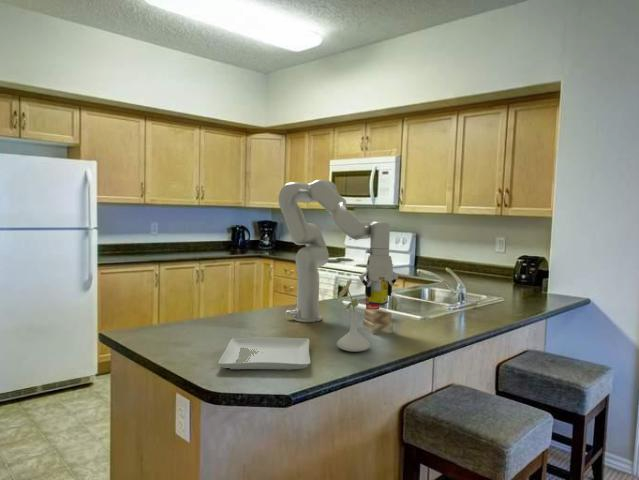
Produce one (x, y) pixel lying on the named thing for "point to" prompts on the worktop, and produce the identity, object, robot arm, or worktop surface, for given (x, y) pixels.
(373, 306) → the paper cup
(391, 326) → the birch base block
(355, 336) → the flower in vase
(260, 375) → the worktop surface
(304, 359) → the square plate
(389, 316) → the maple top block
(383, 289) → the supplement box
